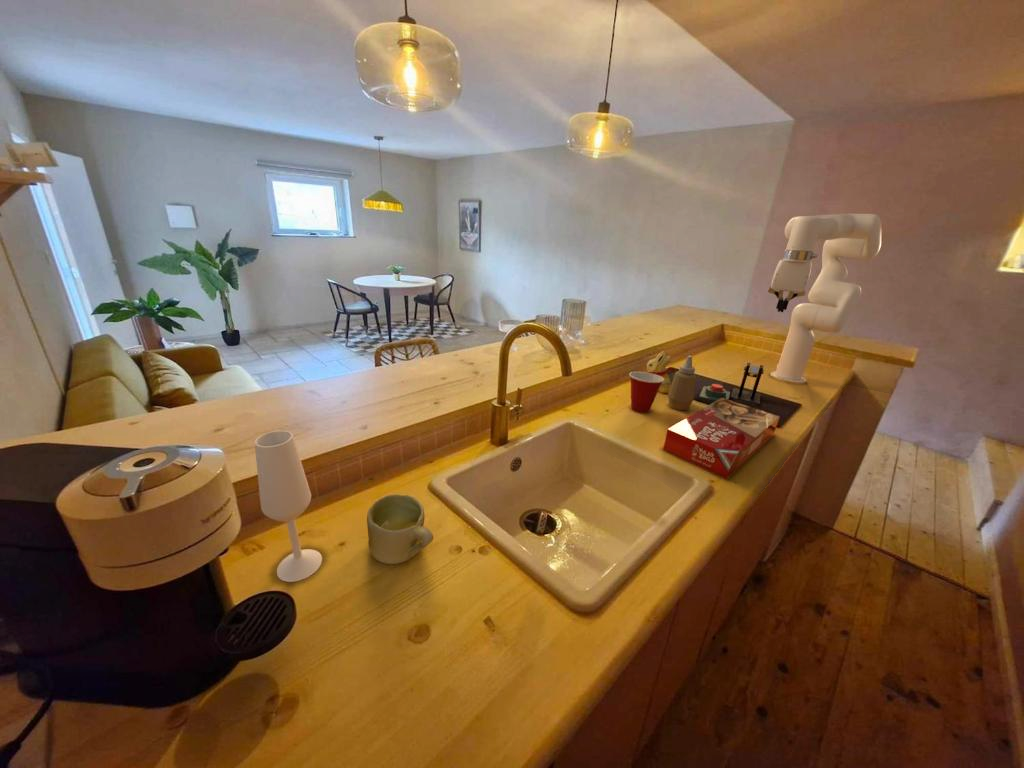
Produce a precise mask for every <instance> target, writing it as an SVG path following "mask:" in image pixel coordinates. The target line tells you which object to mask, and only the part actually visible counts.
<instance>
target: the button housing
mask: <svg viewBox="0 0 1024 768" xmlns="http://www.w3.org/2000/svg"><path fill="white" fill-rule="evenodd" d="M711 386H712V385H708V386H705V385H704V386H703V387H702V390H701V391H700V394H699V396H698V400H699V401H704V402H707V403H710V404H712V403H713V402H715V401H717V400H719V399H720V398H724V399H727V400H730V397H731V391H728V390H726V389H725V388H723V389H722V392H717V391H713V390H711Z"/></svg>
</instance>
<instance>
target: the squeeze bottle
mask: <svg viewBox="0 0 1024 768" xmlns="http://www.w3.org/2000/svg"><path fill="white" fill-rule="evenodd" d="M695 371H696V367H694V366H693V356H692V355H688V356H687V357H686V359H685V361H684V364H681V365H679V368H678V371H676V372H675V373H674V375H673V378H672V381H671V383H670V390H669V392H668V393H667V399H668V406H669V407H670V408H672V409H674V410H678V411H687V410H688V409H689V408H690V407H691V405H692V403H693V402H694V398H695V392H696V391H695V390H696V384H697V383H696V382H697V375H696V374H695Z"/></svg>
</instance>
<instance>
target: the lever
mask: <svg viewBox="0 0 1024 768" xmlns="http://www.w3.org/2000/svg"><path fill="white" fill-rule="evenodd" d="M759 367H760V366H756V365H750V368H749V372H748V375H747V377H751V378H755V379H756V377H757V374H758V370H759ZM744 372H745V370H743V376H744Z"/></svg>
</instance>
